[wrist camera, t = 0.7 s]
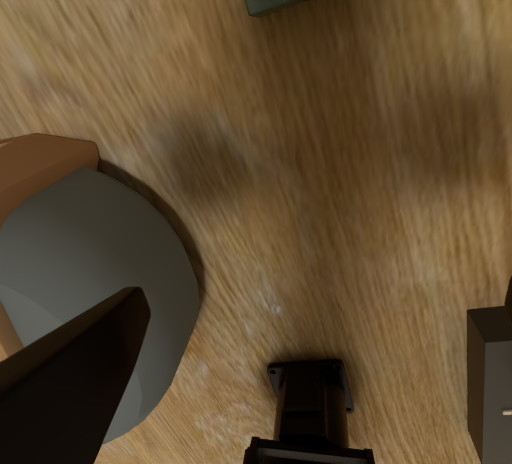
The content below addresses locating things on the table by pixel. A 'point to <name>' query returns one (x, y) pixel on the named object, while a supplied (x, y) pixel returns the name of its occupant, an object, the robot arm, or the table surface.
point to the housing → (267, 6)
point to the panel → (490, 384)
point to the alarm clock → (88, 260)
